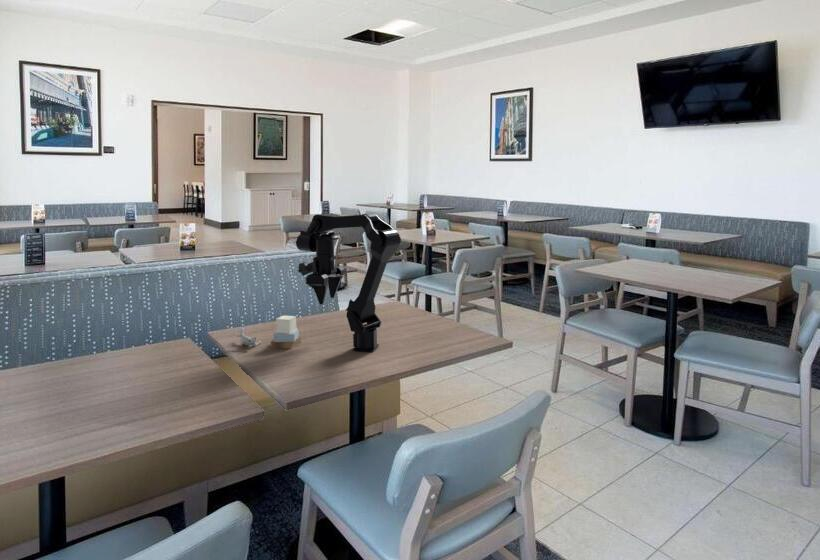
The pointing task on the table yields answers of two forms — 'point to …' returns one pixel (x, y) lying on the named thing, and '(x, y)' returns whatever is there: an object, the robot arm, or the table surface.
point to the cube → (286, 324)
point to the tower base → (286, 344)
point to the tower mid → (286, 336)
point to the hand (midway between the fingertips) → (326, 301)
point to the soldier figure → (247, 339)
